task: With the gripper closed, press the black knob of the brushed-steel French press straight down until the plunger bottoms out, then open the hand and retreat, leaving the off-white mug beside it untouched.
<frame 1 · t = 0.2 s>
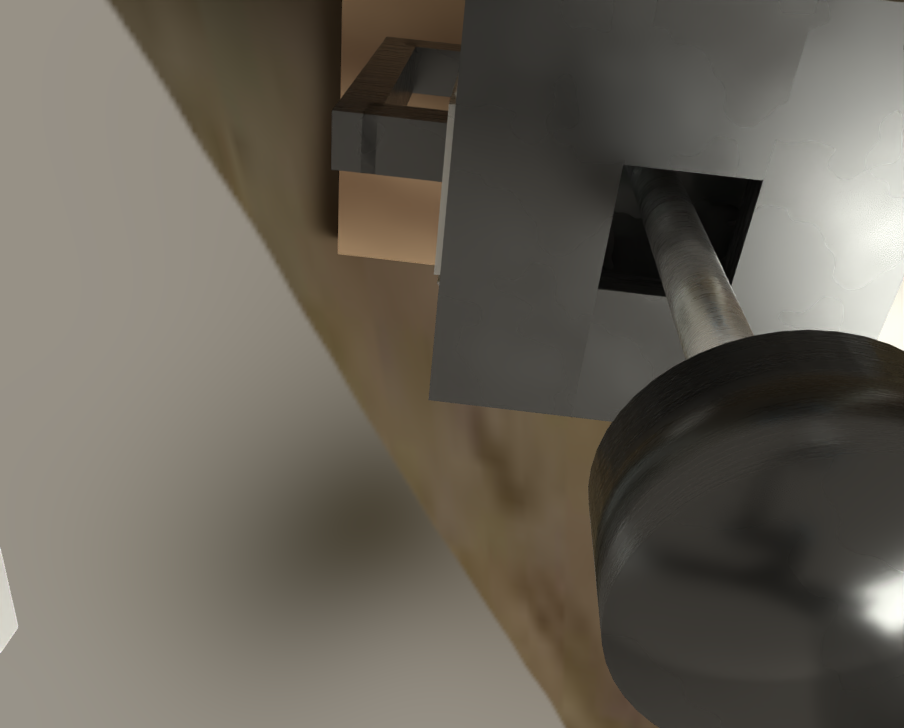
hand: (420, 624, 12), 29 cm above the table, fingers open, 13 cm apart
carafe: (608, 61, 34), resting on board
mug: (784, 223, 37), point 1 cm above the table, touching board
plunger: (692, 278, 17), point 22 cm above the table, slide at -0.6 cm, touching gripper
board: (619, 103, 36), on the table
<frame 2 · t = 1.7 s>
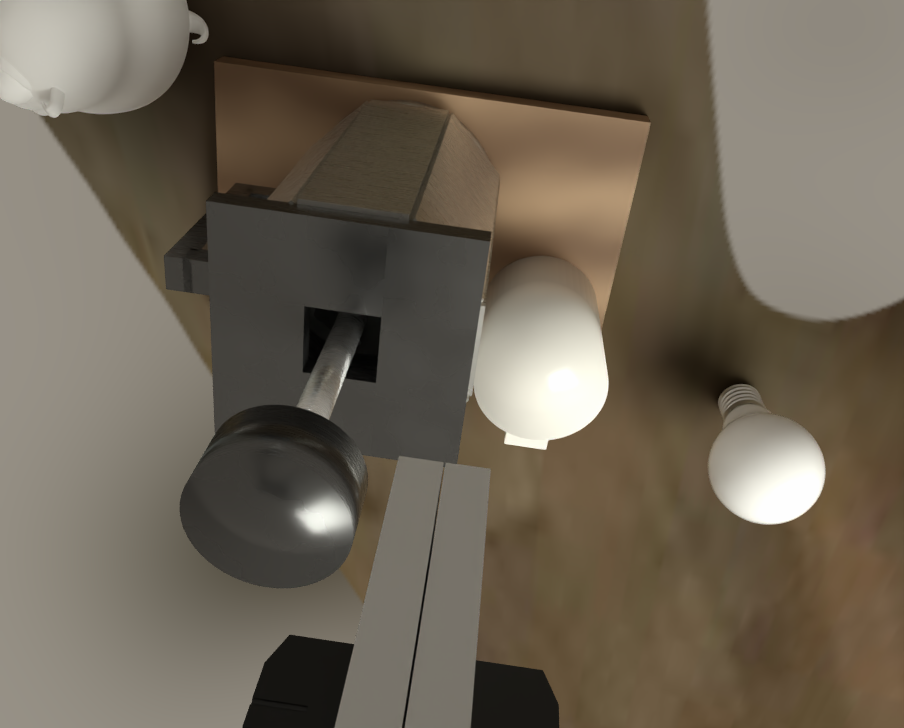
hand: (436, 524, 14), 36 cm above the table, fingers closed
figurine: (134, 5, 46), on the table
carafe: (403, 194, 48), resting on board
mug: (539, 308, 51), point 1 cm above the table, touching board
lightbulb: (736, 394, 55), on the table
plunger: (332, 365, 31), point 21 cm above the table, slide at -0.1 cm
board: (420, 220, 50), on the table
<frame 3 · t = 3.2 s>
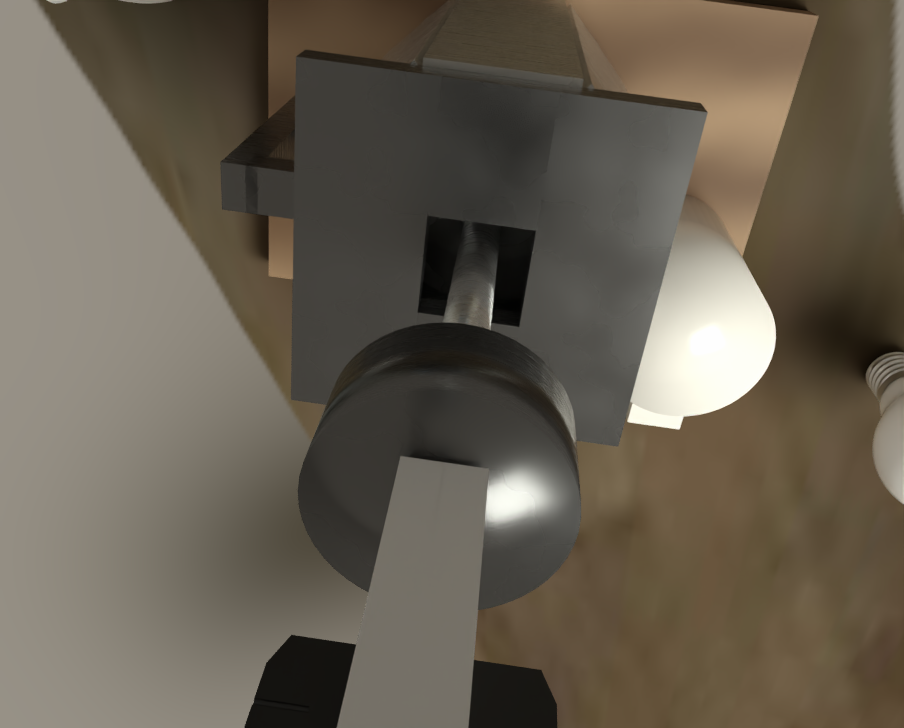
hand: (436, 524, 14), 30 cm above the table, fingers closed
carafe: (499, 115, 39), resting on board
mug: (659, 259, 42), point 1 cm above the table, touching board
lightbulb: (886, 365, 45), on the table
plunger: (471, 293, 22), point 21 cm above the table, slide at 0.2 cm, touching gripper
board: (514, 151, 41), on the table
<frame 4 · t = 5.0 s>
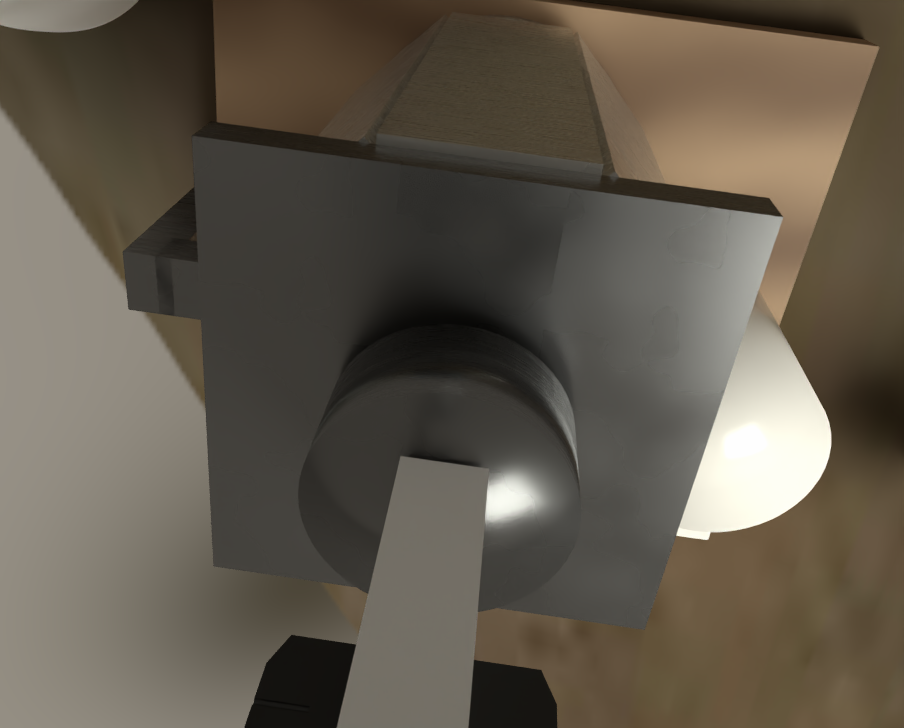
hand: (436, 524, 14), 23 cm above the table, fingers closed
carafe: (492, 162, 32), resting on board
mug: (680, 327, 35), point 1 cm above the table, touching board
plunger: (471, 294, 22), point 14 cm above the table, slide at 7.5 cm, touching gripper
board: (510, 201, 35), on the table
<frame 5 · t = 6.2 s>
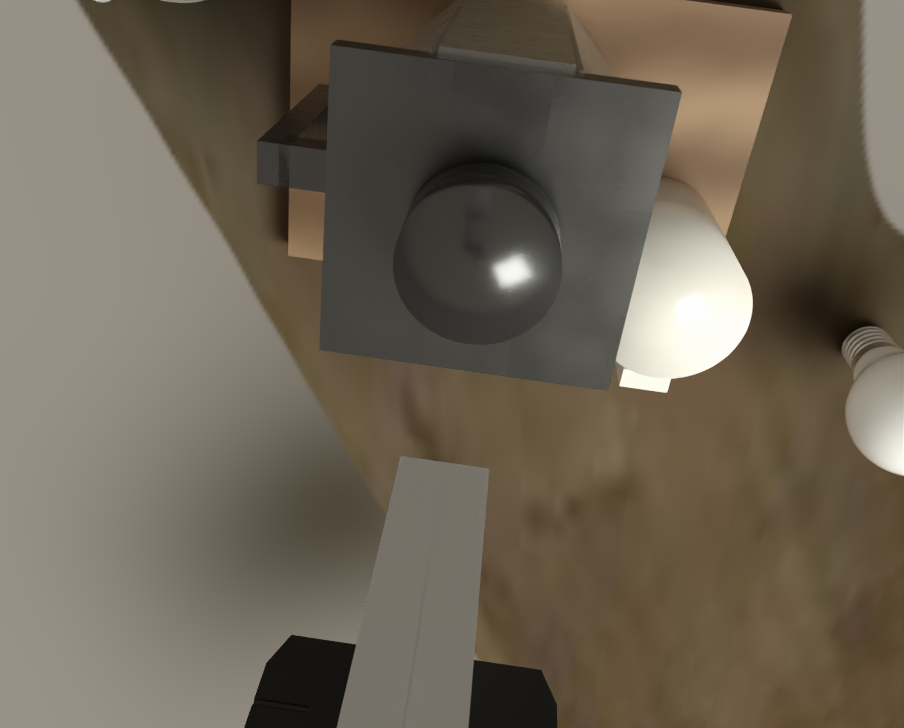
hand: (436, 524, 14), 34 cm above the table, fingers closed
carafe: (501, 105, 42), resting on board
mug: (649, 239, 45), point 1 cm above the table, touching board
lightbulb: (860, 339, 49), on the table
plunger: (490, 177, 32), point 14 cm above the table, slide at 7.5 cm
board: (515, 139, 45), on the table
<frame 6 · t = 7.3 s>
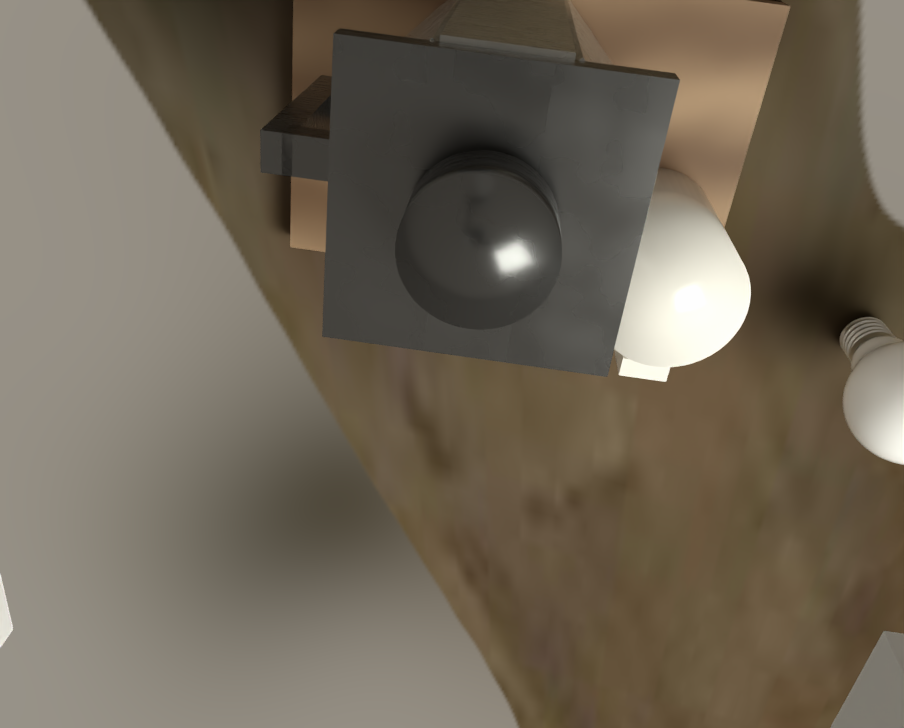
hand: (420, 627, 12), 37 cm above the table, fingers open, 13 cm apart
carafe: (502, 97, 43), resting on board
mug: (648, 230, 46), point 1 cm above the table, touching board
lightbulb: (858, 330, 49), on the table
plunger: (491, 166, 32), point 14 cm above the table, slide at 7.5 cm
board: (516, 131, 45), on the table
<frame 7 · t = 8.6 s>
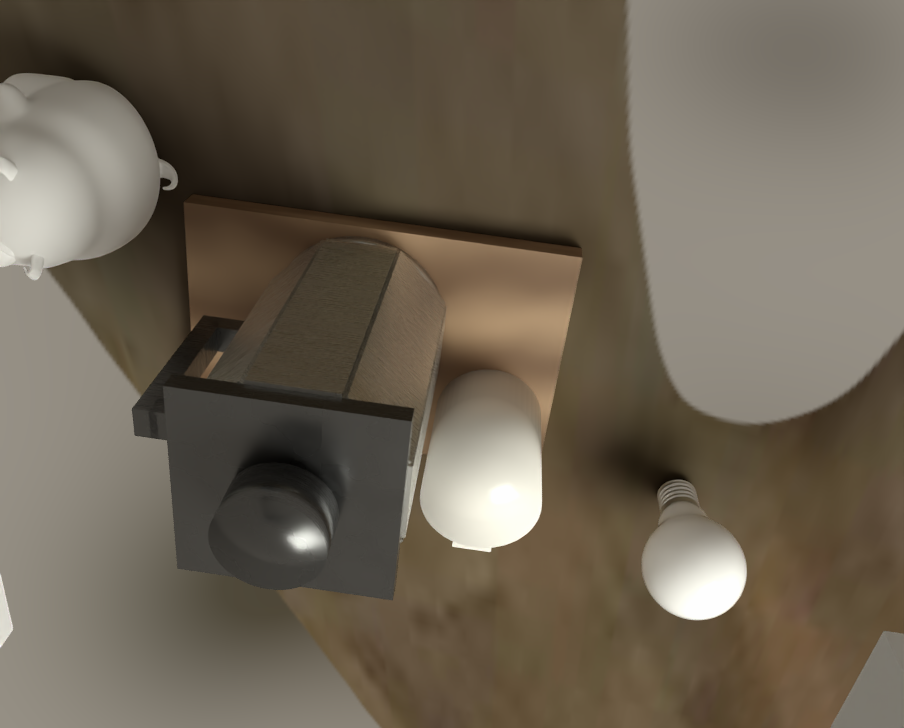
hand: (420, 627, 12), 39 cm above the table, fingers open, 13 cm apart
figurine: (110, 149, 50), on the table
carafe: (360, 316, 52), resting on board
mug: (488, 414, 55), point 1 cm above the table, touching board
lightbulb: (674, 486, 59), on the table
plunger: (316, 424, 42), point 14 cm above the table, slide at 7.5 cm
board: (377, 335, 54), on the table
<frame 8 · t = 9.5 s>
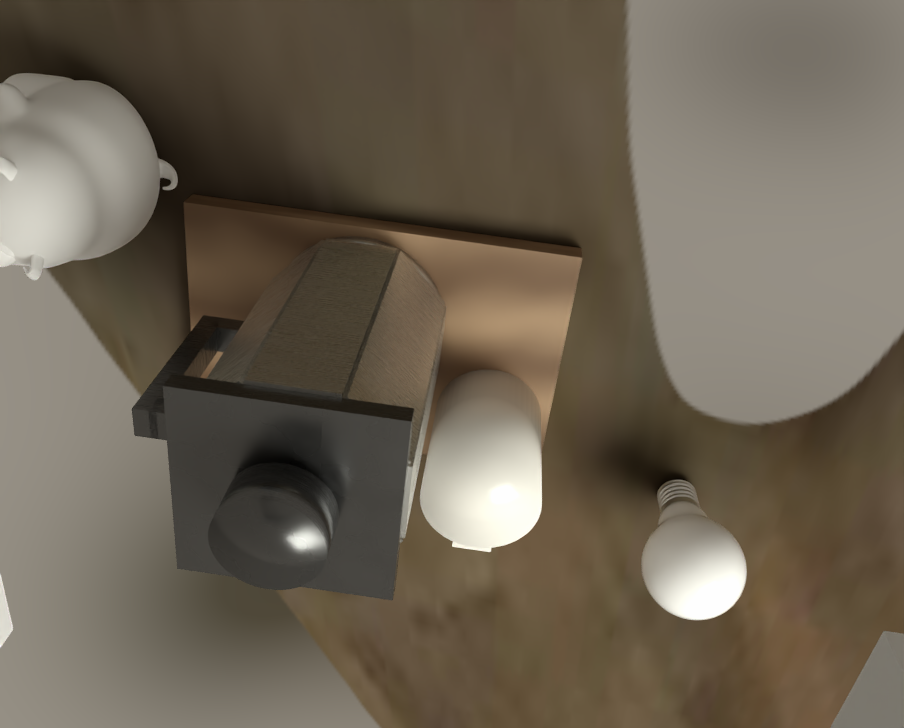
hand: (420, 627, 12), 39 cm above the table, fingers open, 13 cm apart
figurine: (110, 149, 50), on the table
carafe: (359, 316, 52), resting on board
mug: (488, 414, 55), point 1 cm above the table, touching board
lightbulb: (674, 486, 59), on the table
plunger: (316, 424, 42), point 14 cm above the table, slide at 7.5 cm
board: (377, 335, 54), on the table
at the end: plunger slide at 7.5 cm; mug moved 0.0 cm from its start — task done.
